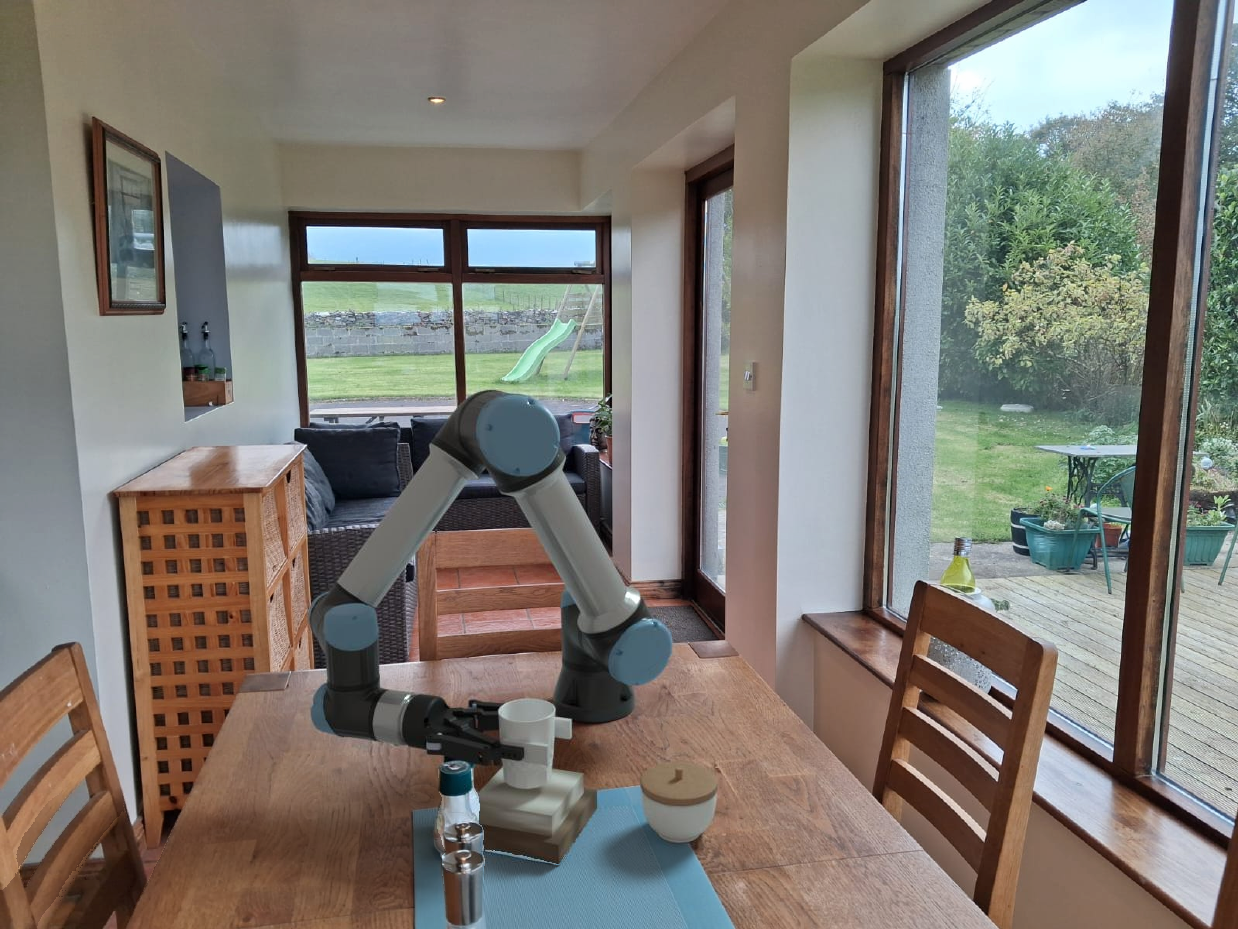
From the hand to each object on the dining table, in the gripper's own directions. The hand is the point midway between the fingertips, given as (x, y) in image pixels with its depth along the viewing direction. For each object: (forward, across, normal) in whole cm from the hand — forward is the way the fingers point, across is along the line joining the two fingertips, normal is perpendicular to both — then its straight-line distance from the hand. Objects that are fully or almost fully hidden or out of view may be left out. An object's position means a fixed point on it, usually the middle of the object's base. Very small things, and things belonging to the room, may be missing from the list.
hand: (559, 741), depth 126 cm
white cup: (-5, 0, -6) cm, 8 cm away
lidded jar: (+16, -5, -14) cm, 21 cm away
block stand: (-5, 0, -14) cm, 14 cm away
